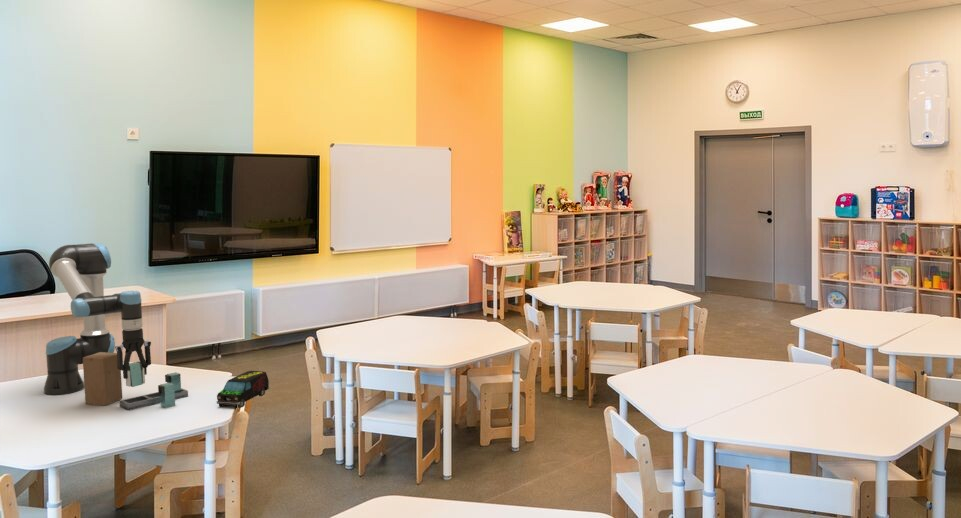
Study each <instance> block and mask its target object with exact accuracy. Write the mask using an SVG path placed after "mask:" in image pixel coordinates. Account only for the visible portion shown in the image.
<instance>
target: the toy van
mask: <svg viewBox="0 0 961 518" xmlns="http://www.w3.org/2000/svg"><path fill="white" fill-rule="evenodd" d="M269 381H270V380H269V377H268V374H267V371H260V370H248V371H245V372H242V373H241V374H239V375H236V376H234V377H232V378H230V379H228V380H227V382H225V384H224V387H223V389H222V390H220V391H219V392H217V395H216V400H217V401H216V404H217V405H218V406H219V407H223V406H225V405H226V406H237V408H238V409H241V408H243V407H245V405H246V402H248V401H250V400H251V399H253V398H254V399H255V397H257V396H259V397H262V396H264V395H265V394H266V391H268V390H269V389H270V386H269V384H270V382H269ZM222 405H223V406H222Z"/></svg>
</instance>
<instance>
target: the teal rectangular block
mask: <svg viewBox="0 0 961 518" xmlns="http://www.w3.org/2000/svg"><path fill="white" fill-rule="evenodd" d="M128 370H129V371H130V381H131V386H130V387H132V388H134V387H135V388H136V387H138V386H142V385H143V383H142V376H141V370H143V368H142V362H140V361H135V362H129V367H128Z"/></svg>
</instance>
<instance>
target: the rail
mask: <svg viewBox="0 0 961 518" xmlns="http://www.w3.org/2000/svg"><path fill="white" fill-rule="evenodd" d="M164 379H165V381H164V382H165V383H172V384H174V391H175V400H178V399H183V398H187V397H189V391H188V390H187V389H184V388H182V382H181V381H182V380H181V373H179V372H171V373H170V372H169V373H167V374H165V375H164ZM156 404H157V405H158V404H161V394H160V393H159V392H158V391H157V392H151V393H148V394H142V395H138V396H135V397H130V398H125V399H120V400H119V407H120V408H121V409H124V410H126V411H132V410H135V409H141V408H144V407H145V408H146V407H149V406H152V405H153V406H154V405H156Z"/></svg>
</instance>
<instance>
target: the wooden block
mask: <svg viewBox="0 0 961 518" xmlns="http://www.w3.org/2000/svg"><path fill="white" fill-rule="evenodd" d="M82 367H83V384H84V388H83V389H84V401H85V402H84V403H85V405H95V406H107V405H110V404H113V403H115V402H117V401H120V400H123V387H122V386H123V384H122V382H123V381H122V370H119V369H118V366H117V352H114V353H107V352H99V353H96V354H93V355H89V356H86V357H83V364H82Z"/></svg>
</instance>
